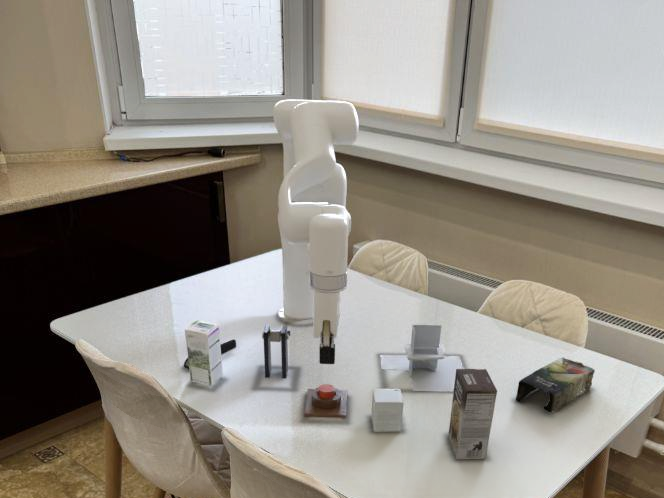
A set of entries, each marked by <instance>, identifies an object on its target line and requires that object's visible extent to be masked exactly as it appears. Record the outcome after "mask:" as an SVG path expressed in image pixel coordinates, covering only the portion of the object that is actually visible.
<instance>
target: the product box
mask: <svg viewBox="0 0 664 498" xmlns="http://www.w3.org/2000/svg"><path fill="white" fill-rule="evenodd" d="M371 397H372V398H371V399H372V400H371V413H370V414H371V417H370V419H371V422H372V429H373V432H375V433H376V432H377V433H382V432H385V433H387V432H402V424H403V414H404V404H405V403H404V399H403V395H402V391H401V389H400V388H373V389H372V396H371Z"/></svg>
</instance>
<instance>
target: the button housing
mask: <svg viewBox="0 0 664 498" xmlns="http://www.w3.org/2000/svg"><path fill="white" fill-rule="evenodd" d="M318 388H319V387H315V388H307V392H306V398H305V404H304V405H305V406H304V412H303V416H304V417H306V418H330V419H331V418H333V419H346V418H347V408H348V407H347V405H348V404H347V403H348V389H339V388H336V387H334V388H335V396H334V397H333V398H321V397H319V396H318Z"/></svg>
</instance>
